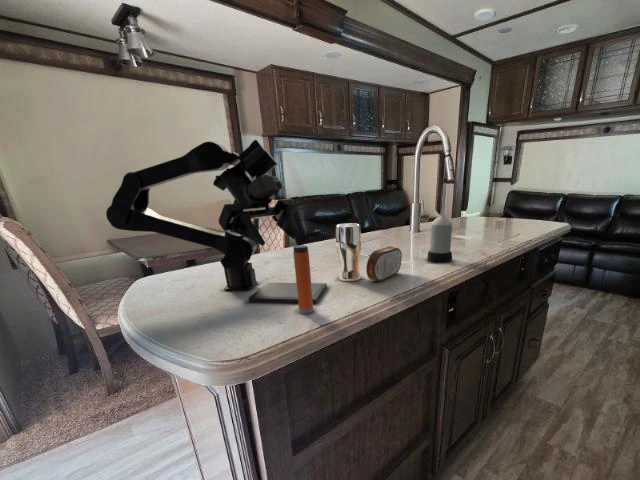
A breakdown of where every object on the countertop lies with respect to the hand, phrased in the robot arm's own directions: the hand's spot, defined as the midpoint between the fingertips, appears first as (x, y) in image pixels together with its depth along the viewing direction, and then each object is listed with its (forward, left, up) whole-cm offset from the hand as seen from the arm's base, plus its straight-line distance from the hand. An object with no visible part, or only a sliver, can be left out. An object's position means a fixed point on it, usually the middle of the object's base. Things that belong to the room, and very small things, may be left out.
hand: (280, 240), depth 73 cm
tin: (+24, +16, -14) cm, 32 cm away
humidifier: (+42, +37, -14) cm, 57 cm away
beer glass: (+14, +15, -14) cm, 24 cm away
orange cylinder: (+8, -10, -13) cm, 18 cm away
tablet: (+1, +1, -13) cm, 13 cm away
